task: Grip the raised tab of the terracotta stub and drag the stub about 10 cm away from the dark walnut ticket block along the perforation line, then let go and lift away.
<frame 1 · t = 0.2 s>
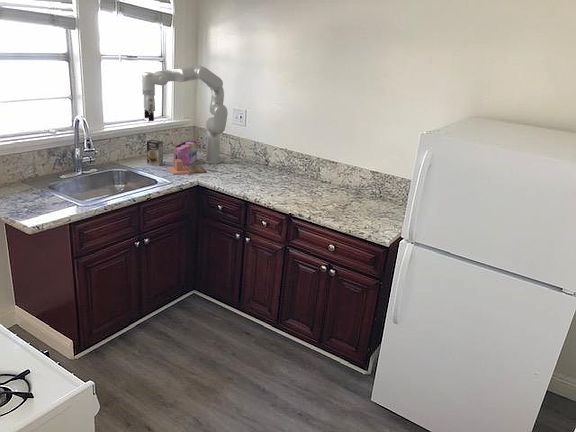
hand: (149, 119, 303), 31 cm above the worktop, tool pointing down, fingers open, 9 cm apart
stub: (178, 165, 306), point 4 cm above the worktop, slide at 0.0 cm
gum box: (185, 163, 327), on the worktop
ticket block: (195, 170, 312), on the worktop
coffee box: (155, 164, 317), on the worktop
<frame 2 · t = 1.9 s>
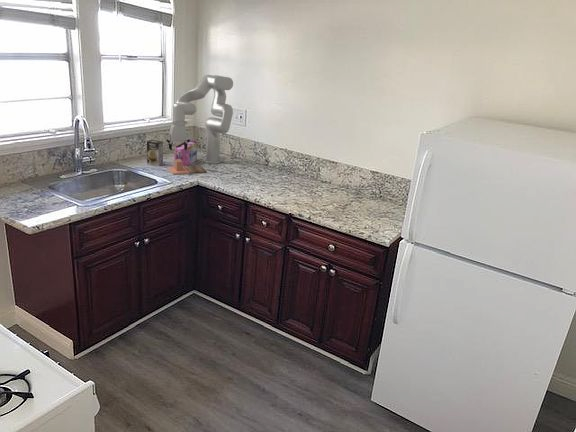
hand: (178, 149, 301), 15 cm above the worktop, tool pointing down, fingers open, 9 cm apart
nothing on the worktop moved.
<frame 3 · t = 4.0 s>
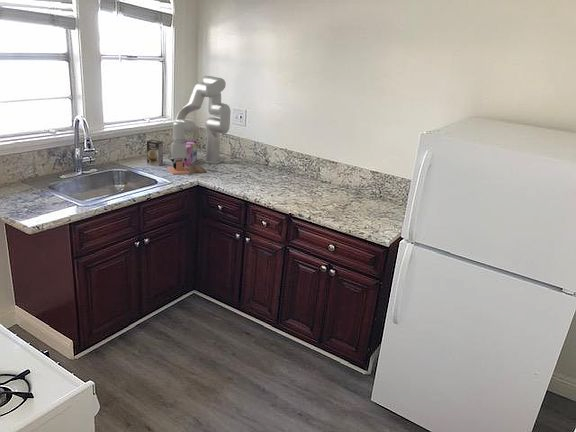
hand: (178, 168, 306), 2 cm above the worktop, tool pointing down, fingers closed on stub, 4 cm apart
stub: (178, 165, 306), point 4 cm above the worktop, slide at 0.0 cm, touching gripper
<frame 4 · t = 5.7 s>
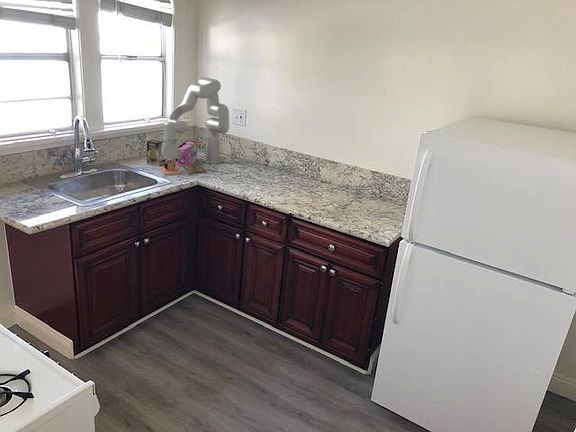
hand: (169, 168, 303), 2 cm above the worktop, tool pointing down, fingers closed on stub, 4 cm apart
stub: (169, 166, 303), point 4 cm above the worktop, slide at 5.7 cm, touching gripper
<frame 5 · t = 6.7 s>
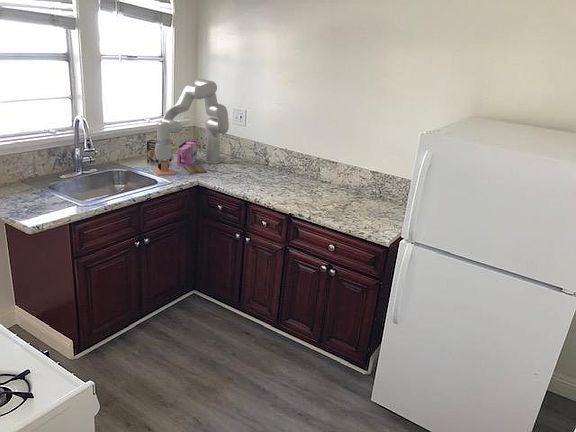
hand: (163, 168, 302), 2 cm above the worktop, tool pointing down, fingers closed on stub, 4 cm apart
stub: (163, 166, 301), point 4 cm above the worktop, slide at 9.9 cm, touching gripper
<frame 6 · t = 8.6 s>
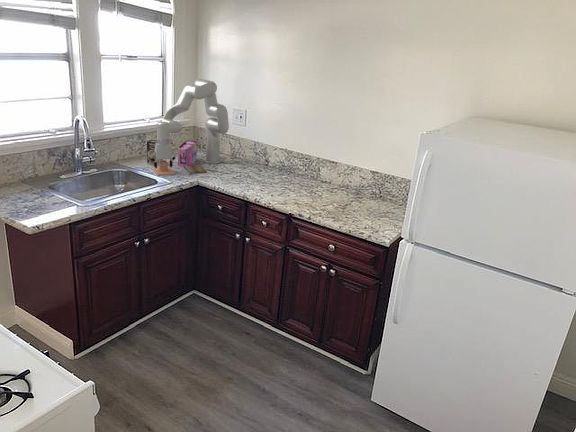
hand: (163, 167, 301), 3 cm above the worktop, tool pointing down, fingers open, 9 cm apart
stub: (163, 166, 301), point 4 cm above the worktop, slide at 10.0 cm
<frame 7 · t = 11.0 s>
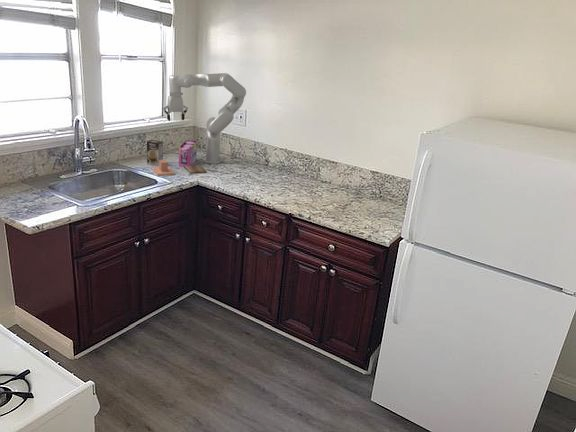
hand: (175, 120, 318), 29 cm above the worktop, tool pointing down, fingers open, 9 cm apart
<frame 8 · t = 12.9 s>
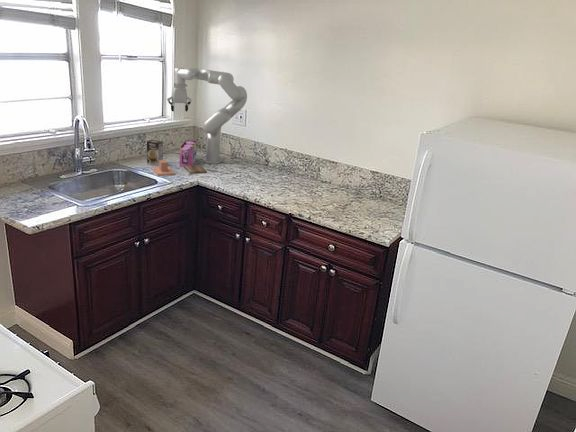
hand: (179, 111, 326), 33 cm above the worktop, tool pointing down, fingers open, 9 cm apart
at the end: stub slide at 10.0 cm; the gripper is holding nothing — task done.
